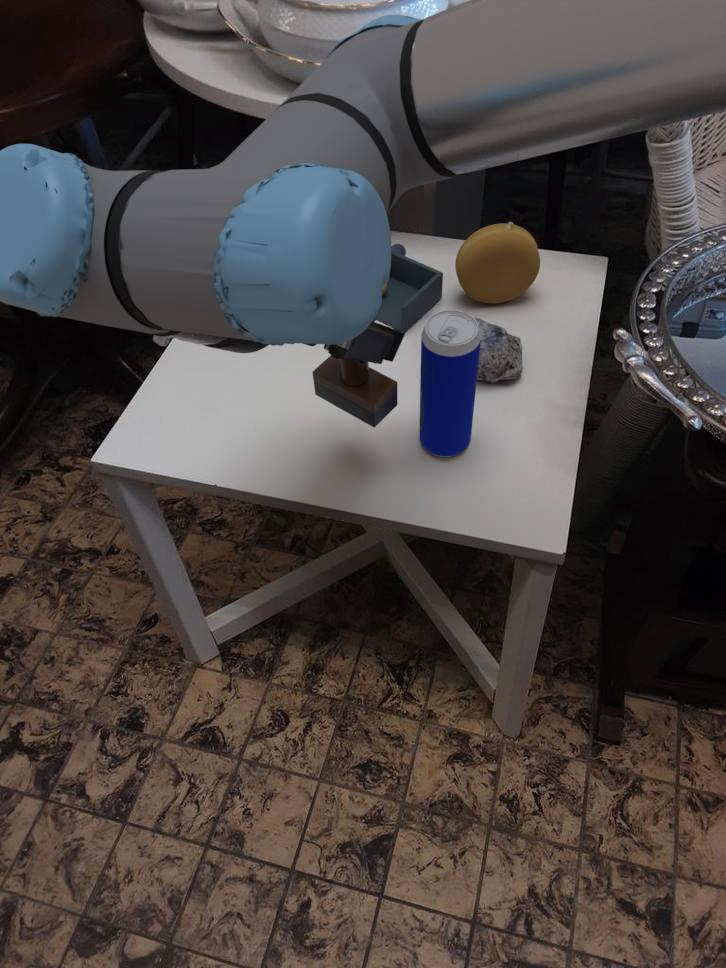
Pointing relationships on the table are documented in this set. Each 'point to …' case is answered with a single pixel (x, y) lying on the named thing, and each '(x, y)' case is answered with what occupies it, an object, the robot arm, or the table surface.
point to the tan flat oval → (497, 263)
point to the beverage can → (448, 381)
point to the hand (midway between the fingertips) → (380, 338)
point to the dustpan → (408, 291)
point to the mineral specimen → (498, 353)
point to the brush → (356, 389)
